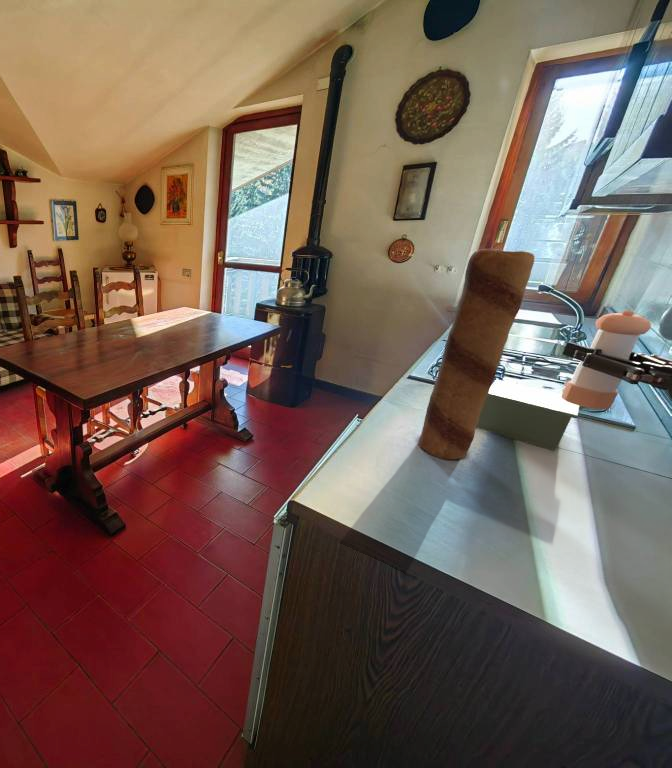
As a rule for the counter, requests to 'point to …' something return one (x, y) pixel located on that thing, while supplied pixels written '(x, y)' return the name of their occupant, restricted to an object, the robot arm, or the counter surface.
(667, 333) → the robot arm
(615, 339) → the pepper shaker
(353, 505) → the counter surface
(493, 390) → the lid
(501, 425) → the green box
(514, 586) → the counter surface
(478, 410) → the wafer roll
